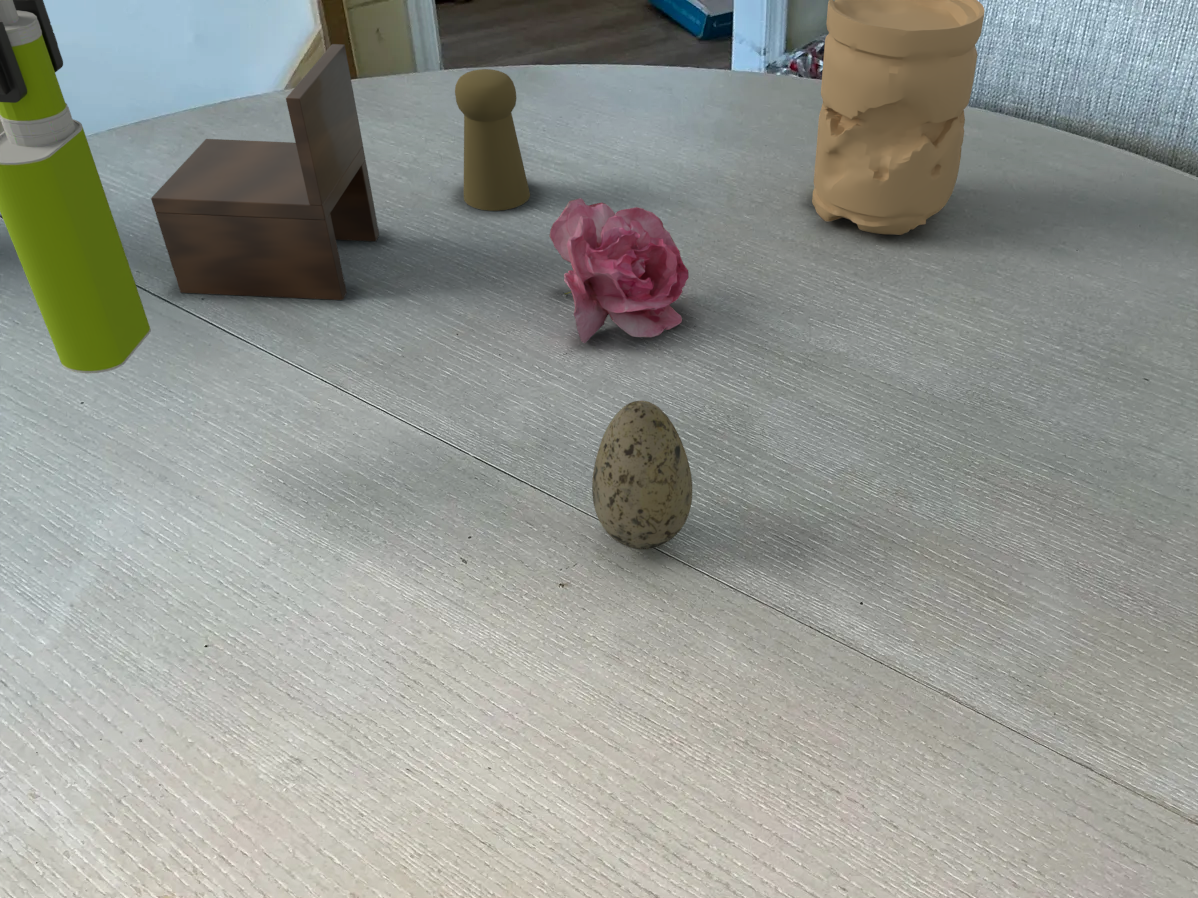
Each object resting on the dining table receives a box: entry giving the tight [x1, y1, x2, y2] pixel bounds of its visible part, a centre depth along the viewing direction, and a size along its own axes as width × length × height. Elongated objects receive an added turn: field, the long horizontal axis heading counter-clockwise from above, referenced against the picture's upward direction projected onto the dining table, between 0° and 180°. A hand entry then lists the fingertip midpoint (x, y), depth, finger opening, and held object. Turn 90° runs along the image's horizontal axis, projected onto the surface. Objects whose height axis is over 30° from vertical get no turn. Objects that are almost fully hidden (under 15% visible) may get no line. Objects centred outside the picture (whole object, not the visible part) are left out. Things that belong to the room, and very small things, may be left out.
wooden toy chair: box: [150, 43, 380, 301], centre depth 92 cm, size 13×11×16 cm
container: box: [811, 0, 985, 236], centre depth 101 cm, size 13×13×18 cm
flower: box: [549, 197, 690, 344], centre depth 90 cm, size 11×10×10 cm
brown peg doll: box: [454, 68, 531, 212], centre depth 104 cm, size 6×6×11 cm
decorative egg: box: [591, 400, 693, 550], centre depth 69 cm, size 6×6×10 cm
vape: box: [0, 0, 151, 374], centre depth 63 cm, size 4×6×20 cm, turn 176°
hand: (23, 83), depth 61 cm, fingers closed on vape, 3 cm apart
